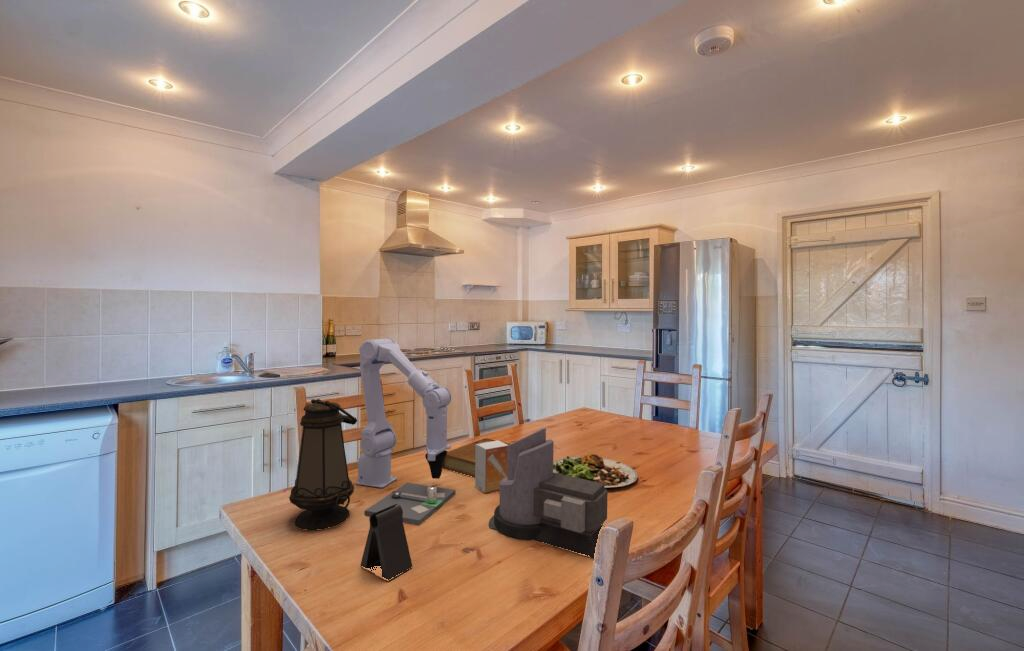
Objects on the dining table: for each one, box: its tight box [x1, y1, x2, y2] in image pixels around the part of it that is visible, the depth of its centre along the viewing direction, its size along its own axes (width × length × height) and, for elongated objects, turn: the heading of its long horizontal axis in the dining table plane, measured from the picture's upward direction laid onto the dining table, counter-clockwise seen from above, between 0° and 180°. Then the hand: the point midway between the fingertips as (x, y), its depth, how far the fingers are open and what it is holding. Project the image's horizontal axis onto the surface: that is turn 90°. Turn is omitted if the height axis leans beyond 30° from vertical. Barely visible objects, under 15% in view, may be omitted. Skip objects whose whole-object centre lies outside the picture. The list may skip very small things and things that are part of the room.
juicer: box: [488, 427, 609, 560], centre depth 106 cm, size 30×16×24 cm, turn 58°
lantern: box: [289, 398, 358, 531], centre depth 111 cm, size 18×15×30 cm
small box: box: [474, 440, 508, 494], centre depth 132 cm, size 8×6×13 cm
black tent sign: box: [360, 504, 413, 580], centre depth 90 cm, size 9×6×12 cm, turn 53°
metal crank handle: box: [391, 484, 438, 503], centre depth 120 cm, size 14×3×4 cm, turn 70°
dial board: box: [364, 482, 456, 526], centre depth 120 cm, size 16×20×1 cm
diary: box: [442, 438, 511, 478], centre depth 152 cm, size 23×19×6 cm
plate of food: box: [553, 453, 639, 489], centre depth 142 cm, size 28×28×6 cm
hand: (436, 477), depth 126 cm, fingers closed
